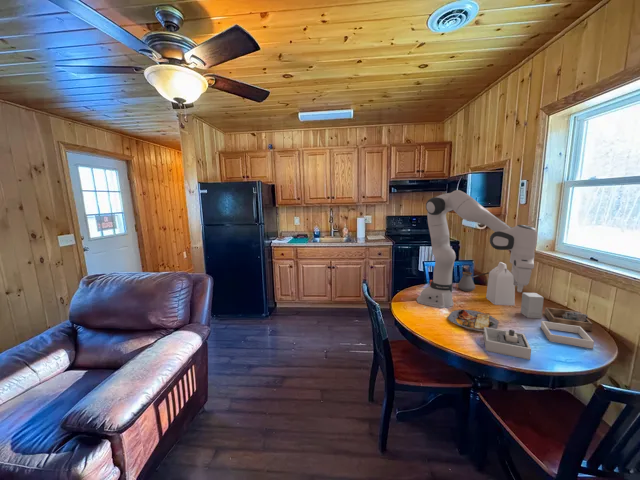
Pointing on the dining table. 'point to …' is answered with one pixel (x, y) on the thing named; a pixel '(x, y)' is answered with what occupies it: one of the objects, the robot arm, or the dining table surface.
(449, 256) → the robot arm
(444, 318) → the dining table surface
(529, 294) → the supplement box
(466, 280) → the coffee pot
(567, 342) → the open square frame
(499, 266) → the milk
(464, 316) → the food plate
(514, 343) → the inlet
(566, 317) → the mineral specimen
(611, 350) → the dining table surface
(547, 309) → the stand rim
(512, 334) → the connector
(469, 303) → the dining table surface
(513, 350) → the walled box
